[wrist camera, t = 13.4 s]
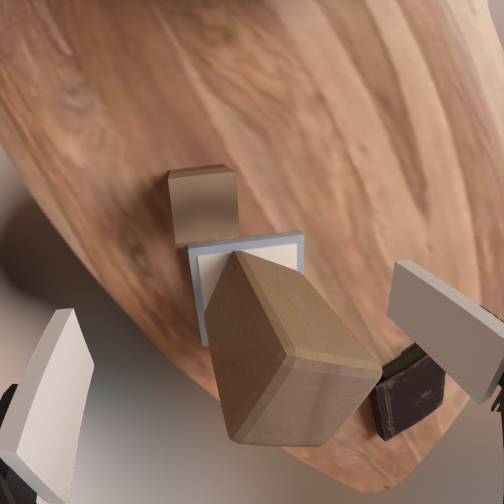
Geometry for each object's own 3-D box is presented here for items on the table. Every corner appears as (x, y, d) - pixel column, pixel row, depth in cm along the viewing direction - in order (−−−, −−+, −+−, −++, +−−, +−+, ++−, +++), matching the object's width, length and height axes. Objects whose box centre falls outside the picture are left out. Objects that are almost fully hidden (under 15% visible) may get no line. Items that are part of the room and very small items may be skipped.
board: (187, 244, 37) (187, 249, 36) (299, 230, 40) (304, 235, 38) (201, 340, 43) (202, 347, 41) (298, 323, 45) (302, 330, 44)
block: (200, 315, 39) (225, 447, 21) (231, 244, 37) (286, 353, 19) (269, 334, 43) (326, 450, 24) (303, 270, 40) (391, 371, 22)
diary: (374, 429, 64) (383, 444, 60) (360, 373, 54) (372, 390, 50) (435, 390, 65) (446, 402, 60) (436, 324, 55) (451, 337, 50)
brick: (170, 169, 34) (167, 178, 27) (223, 164, 35) (235, 171, 28) (176, 221, 36) (175, 243, 29) (227, 214, 37) (239, 235, 30)
